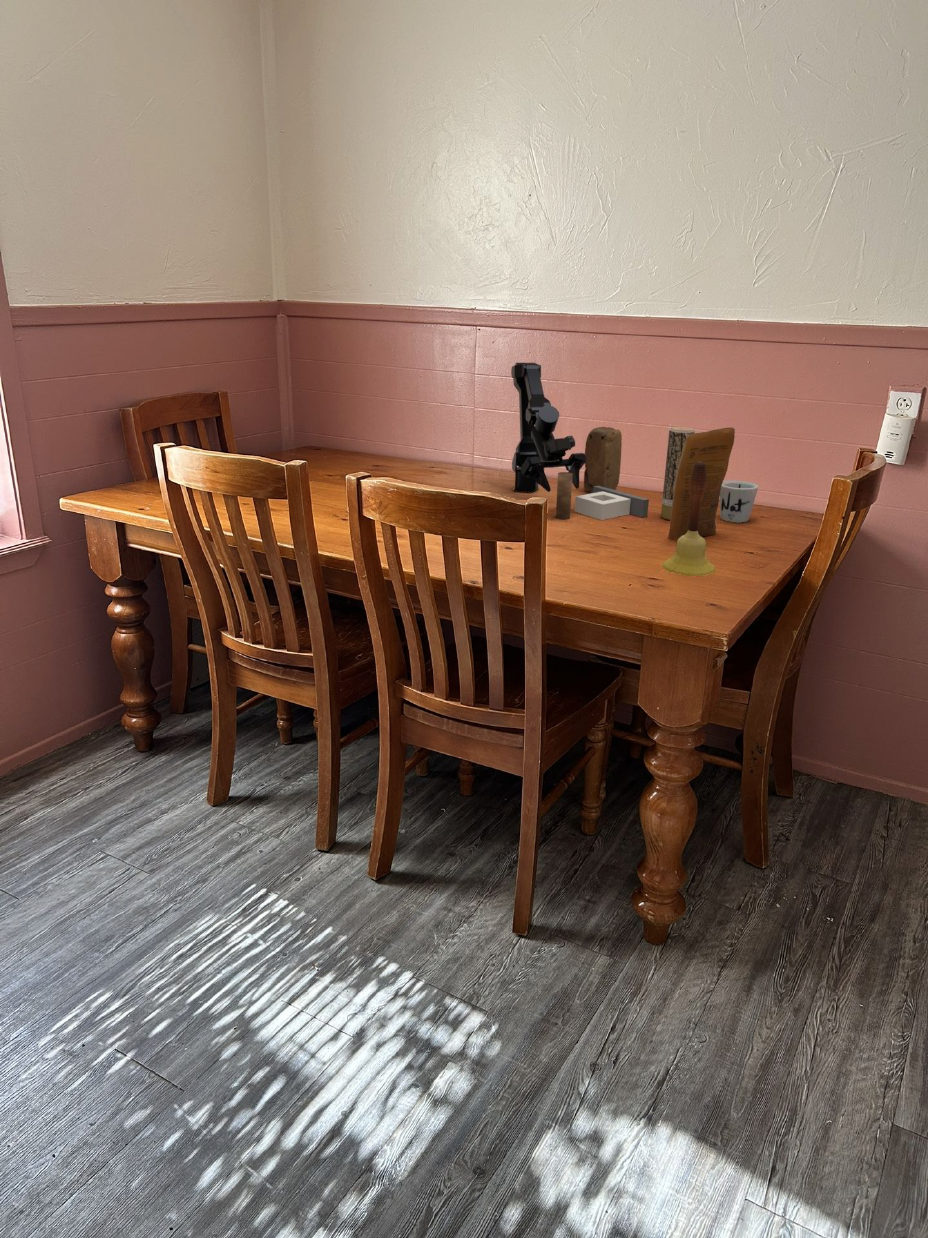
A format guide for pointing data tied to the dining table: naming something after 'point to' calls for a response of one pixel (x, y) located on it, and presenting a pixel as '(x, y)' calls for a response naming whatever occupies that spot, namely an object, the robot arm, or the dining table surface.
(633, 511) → the backstop wall
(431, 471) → the dining table surface
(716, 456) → the pancake mix bag
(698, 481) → the handbell
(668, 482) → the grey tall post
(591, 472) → the block
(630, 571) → the dining table surface
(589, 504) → the hole block
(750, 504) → the mug
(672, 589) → the dining table surface
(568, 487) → the dowel
